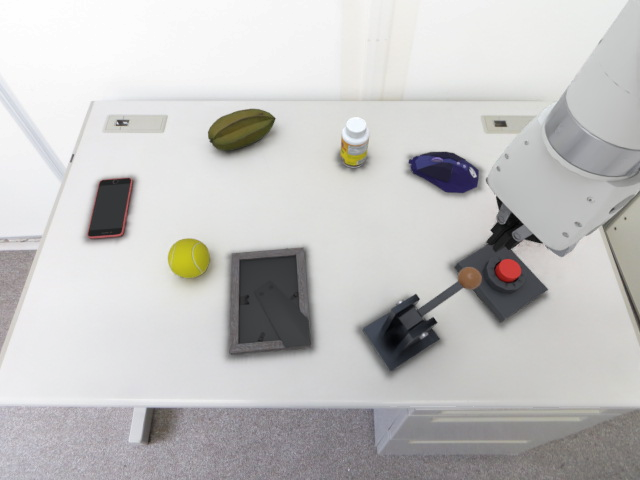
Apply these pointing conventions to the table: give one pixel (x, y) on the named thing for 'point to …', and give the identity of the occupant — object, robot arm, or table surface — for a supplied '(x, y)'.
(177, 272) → the tennis ball
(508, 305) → the grey base plate
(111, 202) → the smartphone
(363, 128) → the supplement bottle
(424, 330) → the switch bracket
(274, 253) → the picture frame
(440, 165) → the computer mouse
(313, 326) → the table surface
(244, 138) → the fruit
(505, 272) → the button
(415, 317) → the switch lever
